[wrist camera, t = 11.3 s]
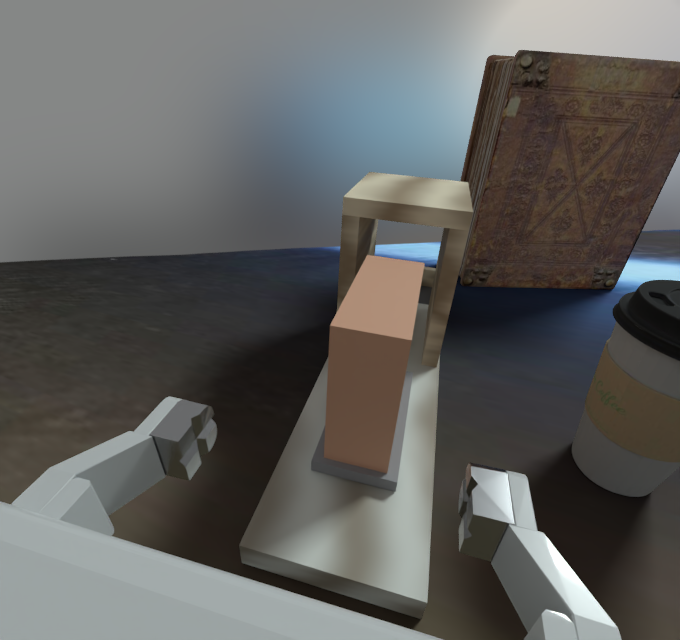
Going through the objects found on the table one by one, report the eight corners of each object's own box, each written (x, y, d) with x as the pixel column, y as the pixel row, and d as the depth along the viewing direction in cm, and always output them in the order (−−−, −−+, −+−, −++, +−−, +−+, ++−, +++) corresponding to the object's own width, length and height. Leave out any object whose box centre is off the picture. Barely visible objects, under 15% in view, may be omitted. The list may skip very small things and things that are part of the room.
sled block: (411, 380, 36) (434, 262, 30) (395, 491, 26) (425, 348, 20) (349, 368, 37) (359, 251, 31) (311, 470, 27) (314, 327, 21)
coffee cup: (526, 428, 34) (592, 276, 27) (615, 417, 36) (701, 273, 28) (606, 530, 27) (733, 358, 19) (714, 511, 28) (872, 346, 21)
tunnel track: (441, 287, 58) (467, 165, 49) (421, 619, 22) (509, 381, 12) (370, 276, 60) (382, 157, 51) (241, 563, 24) (204, 322, 14)
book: (459, 286, 59) (516, 49, 43) (442, 262, 67) (485, 54, 51) (614, 290, 61) (722, 64, 45) (580, 266, 69) (662, 67, 53)
